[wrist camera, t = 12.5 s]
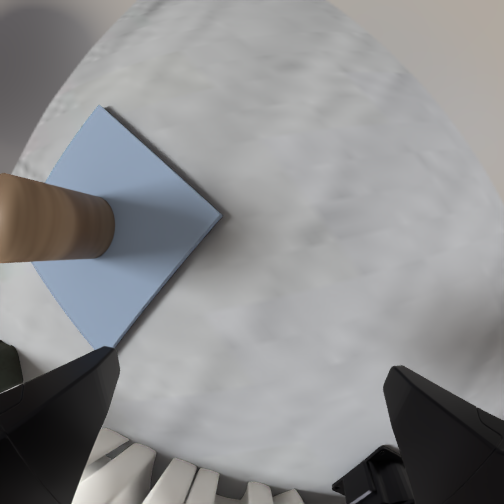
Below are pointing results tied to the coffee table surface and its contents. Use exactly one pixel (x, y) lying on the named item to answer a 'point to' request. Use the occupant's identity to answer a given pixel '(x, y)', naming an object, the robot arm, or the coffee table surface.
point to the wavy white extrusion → (167, 487)
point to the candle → (9, 367)
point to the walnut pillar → (51, 222)
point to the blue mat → (123, 229)
